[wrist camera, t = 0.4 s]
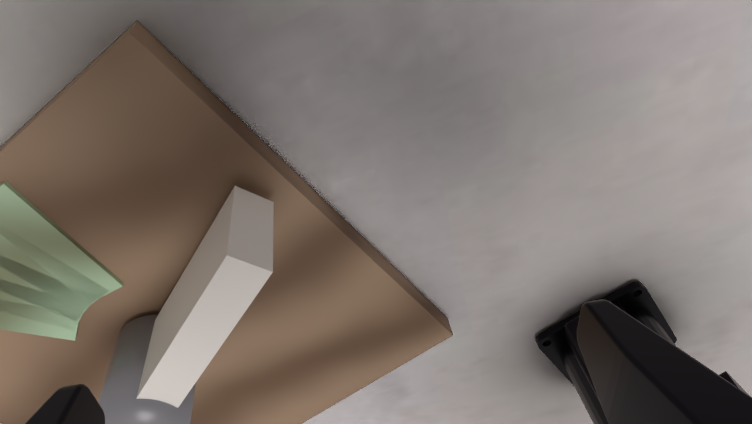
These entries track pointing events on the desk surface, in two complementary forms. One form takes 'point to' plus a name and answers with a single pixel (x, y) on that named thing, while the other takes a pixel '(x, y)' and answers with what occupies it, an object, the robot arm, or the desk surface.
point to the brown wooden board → (181, 250)
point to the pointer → (191, 318)
